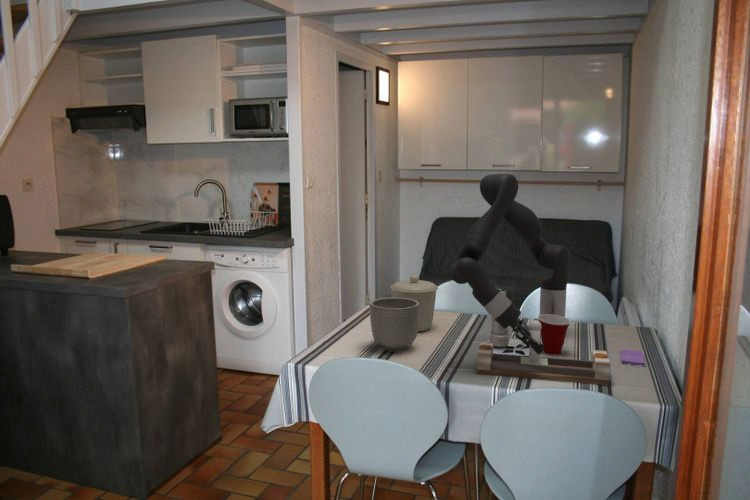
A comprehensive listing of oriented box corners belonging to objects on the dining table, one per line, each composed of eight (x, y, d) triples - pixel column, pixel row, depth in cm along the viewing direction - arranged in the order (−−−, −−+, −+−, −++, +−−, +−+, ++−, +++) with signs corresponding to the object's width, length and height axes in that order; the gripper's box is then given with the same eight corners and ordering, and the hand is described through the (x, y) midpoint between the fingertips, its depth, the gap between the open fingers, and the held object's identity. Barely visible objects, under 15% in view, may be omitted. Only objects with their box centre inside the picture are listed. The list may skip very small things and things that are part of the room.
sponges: (620, 365, 196) (621, 359, 196) (620, 353, 208) (621, 348, 207) (644, 368, 194) (645, 362, 193) (643, 356, 205) (643, 350, 205)
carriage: (520, 362, 193) (522, 316, 191) (547, 364, 191) (549, 318, 189) (520, 369, 187) (521, 322, 185) (547, 371, 185) (549, 324, 183)
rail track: (480, 361, 199) (480, 340, 198) (604, 371, 190) (606, 349, 189) (476, 373, 188) (477, 351, 187) (609, 385, 178) (610, 361, 177)
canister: (445, 326, 239) (446, 273, 236) (423, 338, 224) (424, 281, 221) (405, 320, 249) (405, 268, 246) (381, 330, 234) (381, 276, 231)
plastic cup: (564, 359, 200) (566, 323, 198) (532, 354, 206) (533, 319, 204) (573, 350, 209) (575, 316, 208) (542, 345, 215) (543, 312, 213)
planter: (382, 338, 225) (382, 295, 222) (427, 344, 217) (427, 300, 215) (361, 351, 209) (360, 305, 207) (407, 358, 202) (408, 311, 199)
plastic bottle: (509, 350, 210) (510, 292, 207) (489, 348, 212) (490, 292, 209) (508, 344, 217) (510, 288, 213) (489, 343, 218) (490, 288, 215)
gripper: (510, 307, 181) (551, 350, 180) (511, 296, 194) (550, 336, 193) (491, 323, 183) (532, 366, 182) (494, 311, 197) (532, 351, 195)
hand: (541, 350), depth 188 cm, fingers closed on carriage, 3 cm apart
